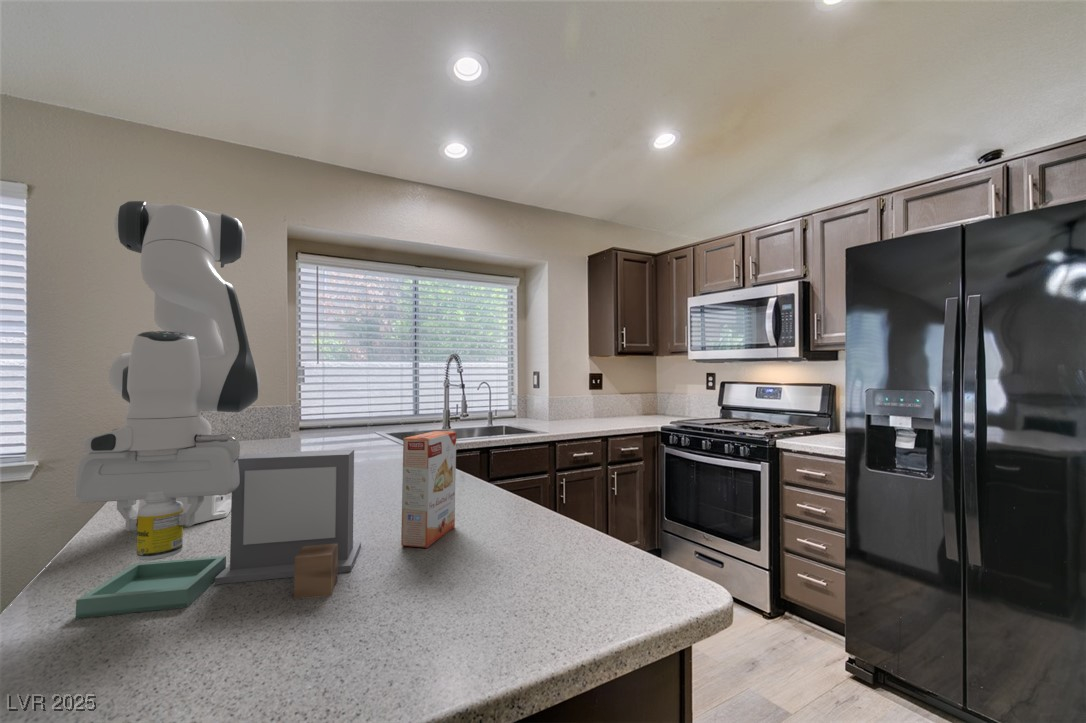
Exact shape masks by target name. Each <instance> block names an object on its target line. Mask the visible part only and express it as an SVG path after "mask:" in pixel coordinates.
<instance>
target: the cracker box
mask: <svg viewBox="0 0 1086 723" xmlns="http://www.w3.org/2000/svg"><path fill="white" fill-rule="evenodd" d="M402 446H403V448H402V486H401V487H402V488H401V490H402V493H401V494H402V495H401V496H402V497H401V530H400V531H401V538H400V545H401V546H402V547H414V548H422V549H423V548H425V549H427V548H429V547H430V546H432V544H434V543H435V542H436V541H438V540H439V539H440V538H441V537H443V536H444V535H445V534H447V533H448V532H449V531H451V530H453V528H455V525H456V524H455V522H456V515H455V514H456V480H457V479H456V475H457V474H456V469H457V432H456V431H452V430H450V431H448V430H447V431H445V430H434V431H429V432H425V433H420V434H416V435H411V436H408V437H403V445H402Z"/></svg>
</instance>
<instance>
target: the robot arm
mask: <svg viewBox="0 0 1086 723" xmlns="http://www.w3.org/2000/svg"><path fill="white" fill-rule="evenodd" d="M113 224H114V230H115V233H116V236H117V238H118V240H119V243H120V244H121V245H122V246H123V247H125V248H126V249H127V250H129V251H131V252H135V253H138V254H140V271H141V277H142V279H143V281H144V283H145V284H146V285H147V287H148V288H149V289H150V290H151V291H152V292H154V305H153V306H154V309H153V310H154V311H153V312H154V314H153V317H154V322H155V324H156V325H157V327H158V328H159V329H160V330H159V331H154V330H153V331H144V332H141V333H138V334H136V335H135V336H134V340H133V343H132V346H131V350H130V352H125V353H122V354H120V355H119V356H117V357H116V358H115V359H114V361H113V362H112V363H111V365H110V367H109V370H108V382H109V384H110V386H111V388H112V389H113V390H114V392H116V393H117V394H118V395H120V396H121V398H122V400H124V401H125V402H127V403H129V408H128V410H127V413H126V415H125V425H124V427H120V428H115V429H112V430H110V431H106V432H102V433H99V434H95V435H92V436H88V437H86V438H84V439H83V441H82V451H84V453H87V454H85V455H84V456H83V457H81V459H80V460H79V461H78V462H79V463H78V465H77V468H76V469H77V470H76V473H75V474H76V476H75V483H74V495H75V498H76V499H77V500H78V501H79V502H80V503H83V504H88V503H103V502H104V503H105V502H106V503H107V502H116V510H117V512H118V513H119V514H120V515H121V516H122V518H123V519H124V520H125V531H127V532H129V531H130V532H131V531H137V525H138V512H137V511H138V510H139V509H140V508H141V507H142V506H144V505H146V502H145V501H144V499H146V496H147V493H149V492H163V494H164V496H165V497H166V498H176V501H180V502H181V503H182V504H183V514H182V515H180V516H179V523H178V525H179V527H183V528H186V527H187V528H188V527H192V526H193V525H195V524H199V523H204V522H207V521H211V520H218V519H223V518H226V517H228V515H229V514H230V513H231V500H232V498H227V495H229V494H232V492H233V491H234V490H235V489H236V488H237V487H238V486H239V484H240V474H239V465H238V458H239V456H241V455H240V453H241V452H240V451H241V450H240V449H241V447H240V445H241V444H240V442H239V440H238V439H237V438H234V437H233V436H230V434H226V433H224V434H223V433H222V434H212V424H211V423H210V421H209V420H208V419H207V418H205V417H203V416H201V412H218V413H219V412H222V413H224V412H225V413H240V412H243V411H245V409H247V408H249V407H250V406H251V405H252V404H254V403H255V402H256V401H257V400H258V398H259V394H260V390H261V380H260V379H261V378H260V375H259V371H258V369H257V366H256V364H255V363H254V358H253V355H252V352H251V348H250V343H249V340H248V335H247V330H246V326H245V320H244V318H243V312H242V309H241V305H240V302H239V299H238V294H237V292H236V289H235V288H234V286H233V284H232V283H230V282H228V281H227V280H224V279H223V278H222V277H221V275H220V274H219V272H218V271H217V269H216V262H217V263H218V262H220V268H224V267H225V265H228V264H232V263H235V262H236V261H238V260H240V259H241V258H242V255H243V253H244V251H245V250H246V247H247V235H246V231H245V229H244V227H243V224H242V222H241V221H240V220H239V218H236V217H233V216H231V215H229V214H227V213H226V214H225V213H221V214H220V213H216V212H214V211H213V212H212V211H210V210H205V209H201V208H196V207H192V206H191V207H190V206H187V205H184V204H179V203H177V204H176V203H175V204H174V203H172V204H166V203H165V204H163V203H152V202H151V203H148V202H146V201H145V200H144V201H143V200H134V201H133V200H131V201H127V202H125V203H123V204H121V205H120V206H119V209H118V211H117V212H116V214H115V217H114V222H113ZM218 329H219V330H218ZM137 501H138V507H137V511H136V510H135V509H134V507H133V506H134V505H136V504H137ZM229 512H230V513H229Z"/></svg>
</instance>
